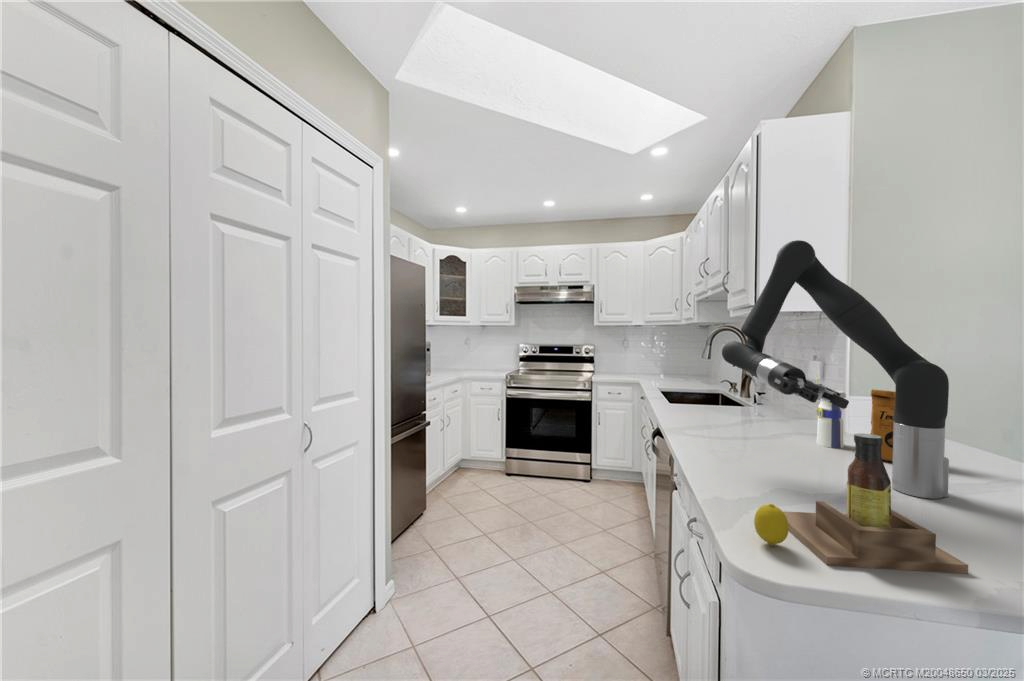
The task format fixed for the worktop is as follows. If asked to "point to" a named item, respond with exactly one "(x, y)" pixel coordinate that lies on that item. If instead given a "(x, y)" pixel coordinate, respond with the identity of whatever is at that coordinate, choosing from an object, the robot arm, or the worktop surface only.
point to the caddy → (870, 542)
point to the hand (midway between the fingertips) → (831, 402)
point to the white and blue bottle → (830, 423)
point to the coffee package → (883, 420)
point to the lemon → (771, 524)
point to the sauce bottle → (868, 484)
